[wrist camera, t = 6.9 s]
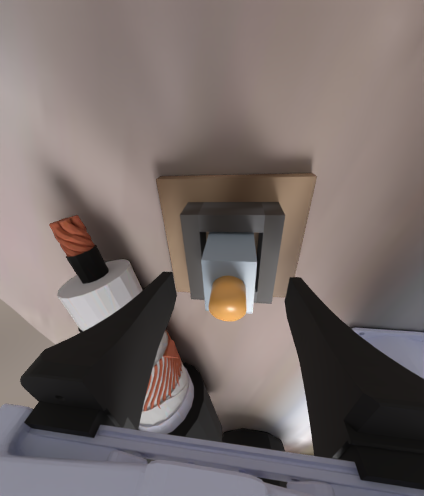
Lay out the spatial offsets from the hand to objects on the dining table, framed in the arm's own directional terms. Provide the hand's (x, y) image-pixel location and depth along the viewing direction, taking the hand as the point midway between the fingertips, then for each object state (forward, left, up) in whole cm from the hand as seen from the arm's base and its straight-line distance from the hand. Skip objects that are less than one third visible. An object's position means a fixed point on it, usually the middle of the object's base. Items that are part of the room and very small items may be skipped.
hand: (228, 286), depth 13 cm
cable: (+10, +14, -6) cm, 18 cm away
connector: (0, 0, -5) cm, 5 cm away
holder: (0, 0, -6) cm, 6 cm away
